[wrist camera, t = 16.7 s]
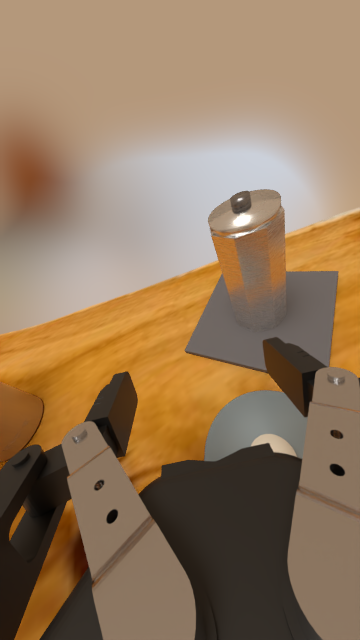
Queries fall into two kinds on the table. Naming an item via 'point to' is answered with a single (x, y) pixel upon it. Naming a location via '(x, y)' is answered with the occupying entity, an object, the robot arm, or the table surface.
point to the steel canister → (252, 256)
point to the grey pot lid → (257, 425)
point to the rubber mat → (296, 328)
